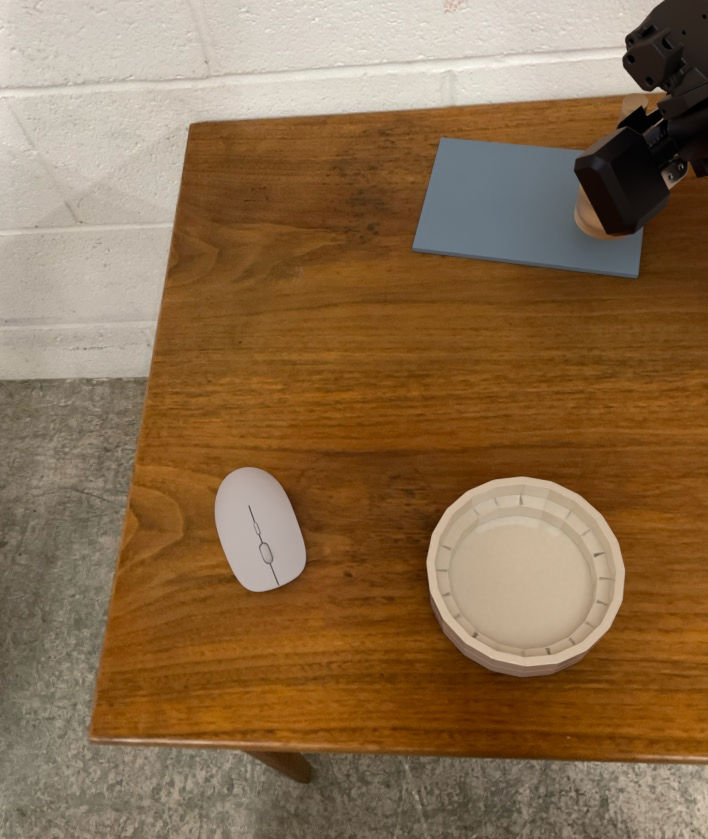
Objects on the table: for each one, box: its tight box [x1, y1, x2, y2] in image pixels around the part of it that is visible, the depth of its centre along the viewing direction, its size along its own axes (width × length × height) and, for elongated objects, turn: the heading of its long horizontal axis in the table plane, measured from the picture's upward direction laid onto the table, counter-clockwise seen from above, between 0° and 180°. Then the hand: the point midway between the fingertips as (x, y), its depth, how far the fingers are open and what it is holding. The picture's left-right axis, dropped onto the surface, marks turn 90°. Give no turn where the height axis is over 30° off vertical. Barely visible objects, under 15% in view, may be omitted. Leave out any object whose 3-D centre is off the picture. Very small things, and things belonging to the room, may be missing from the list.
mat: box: [411, 136, 644, 279], centre depth 75 cm, size 20×14×1 cm
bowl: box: [425, 476, 626, 678], centre depth 57 cm, size 13×13×4 cm
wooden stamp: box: [574, 92, 649, 240], centre depth 63 cm, size 6×6×12 cm
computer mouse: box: [214, 466, 307, 593], centre depth 61 cm, size 6×10×3 cm, turn 21°
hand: (608, 149), depth 64 cm, fingers closed on wooden stamp
